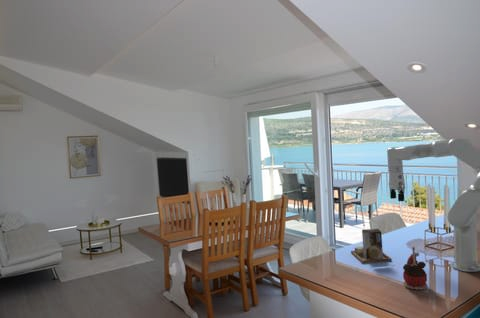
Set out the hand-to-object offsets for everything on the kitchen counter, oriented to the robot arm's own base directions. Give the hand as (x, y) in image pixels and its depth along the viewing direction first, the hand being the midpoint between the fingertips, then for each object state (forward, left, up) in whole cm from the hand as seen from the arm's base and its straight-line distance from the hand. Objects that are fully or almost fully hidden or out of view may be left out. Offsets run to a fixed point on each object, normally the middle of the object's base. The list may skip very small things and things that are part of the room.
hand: (397, 199), depth 203 cm
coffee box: (-4, +17, -31) cm, 36 cm away
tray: (0, +17, -32) cm, 36 cm away
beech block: (+6, +21, -31) cm, 38 cm away
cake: (-40, +12, -32) cm, 53 cm away
